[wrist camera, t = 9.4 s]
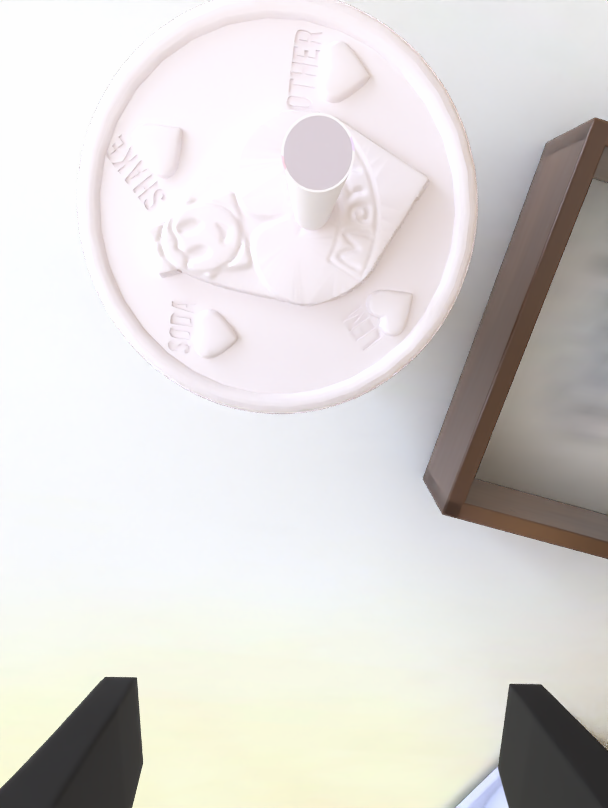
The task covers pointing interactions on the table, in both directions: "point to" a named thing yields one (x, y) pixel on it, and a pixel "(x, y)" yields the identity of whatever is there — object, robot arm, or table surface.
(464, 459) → the box
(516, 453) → the table surface
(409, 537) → the table surface
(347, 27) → the smoothie
